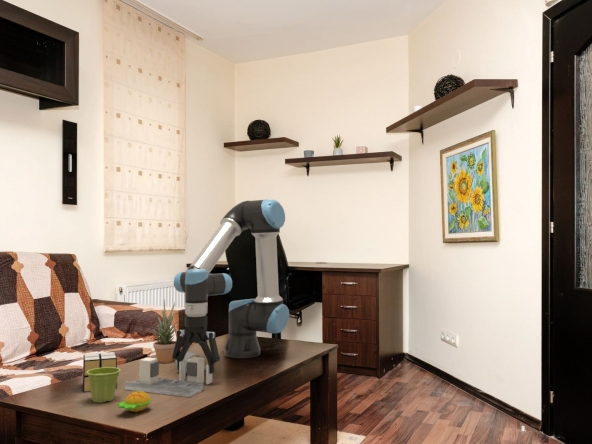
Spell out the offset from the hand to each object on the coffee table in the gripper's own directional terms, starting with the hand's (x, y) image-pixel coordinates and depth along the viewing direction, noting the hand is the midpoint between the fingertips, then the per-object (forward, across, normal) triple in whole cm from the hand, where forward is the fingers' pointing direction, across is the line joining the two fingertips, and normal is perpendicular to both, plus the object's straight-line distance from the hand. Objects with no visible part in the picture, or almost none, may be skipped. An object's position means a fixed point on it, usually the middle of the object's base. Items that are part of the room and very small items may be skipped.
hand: (195, 381), depth 170 cm
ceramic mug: (+1, -9, +12) cm, 15 cm away
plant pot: (+1, -16, -26) cm, 31 cm away
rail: (0, -5, -11) cm, 12 cm away
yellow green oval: (+1, 0, -32) cm, 32 cm away
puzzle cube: (+1, -27, -15) cm, 31 cm away
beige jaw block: (0, 0, 0) cm, 0 cm away
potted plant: (0, -28, +23) cm, 36 cm away
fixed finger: (-1, -11, -11) cm, 15 cm away
